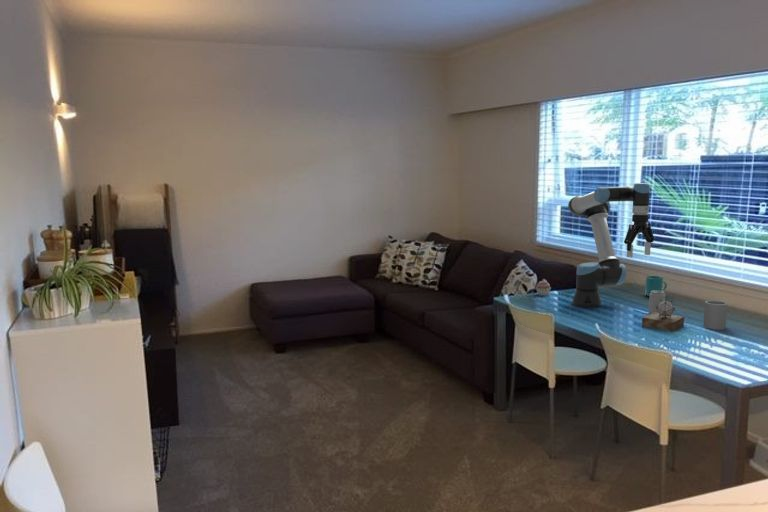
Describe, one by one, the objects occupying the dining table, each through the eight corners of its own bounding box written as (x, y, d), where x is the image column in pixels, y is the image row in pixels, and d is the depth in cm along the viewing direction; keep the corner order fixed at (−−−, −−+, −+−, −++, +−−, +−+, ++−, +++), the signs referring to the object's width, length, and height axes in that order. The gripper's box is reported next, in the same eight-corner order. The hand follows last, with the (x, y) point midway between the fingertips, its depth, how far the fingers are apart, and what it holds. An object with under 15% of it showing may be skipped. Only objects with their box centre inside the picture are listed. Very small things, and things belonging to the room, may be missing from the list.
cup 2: (725, 331, 274) (726, 305, 272) (702, 328, 279) (704, 303, 277) (726, 326, 282) (727, 301, 280) (704, 324, 287) (705, 299, 285)
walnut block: (641, 327, 284) (642, 317, 284) (653, 321, 294) (654, 312, 293) (672, 333, 274) (673, 322, 274) (683, 327, 284) (684, 316, 283)
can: (666, 316, 303) (667, 292, 301) (650, 315, 304) (651, 292, 302) (662, 312, 310) (663, 289, 308) (647, 312, 311) (648, 289, 310)
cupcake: (534, 293, 361) (534, 277, 359) (550, 293, 359) (550, 277, 358) (535, 296, 351) (536, 280, 350) (552, 297, 350) (552, 280, 349)
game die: (647, 308, 286) (660, 292, 285) (657, 317, 289) (670, 301, 288) (660, 316, 277) (673, 299, 276) (670, 325, 281) (684, 308, 280)
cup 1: (670, 297, 344) (671, 278, 342) (649, 297, 344) (650, 278, 342) (662, 294, 353) (663, 275, 351) (642, 294, 352) (643, 275, 351)
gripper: (630, 216, 288) (628, 259, 291) (663, 213, 300) (660, 254, 303) (617, 215, 294) (615, 257, 298) (649, 212, 307) (647, 253, 310)
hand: (638, 256), depth 300 cm, fingers open, 13 cm apart
